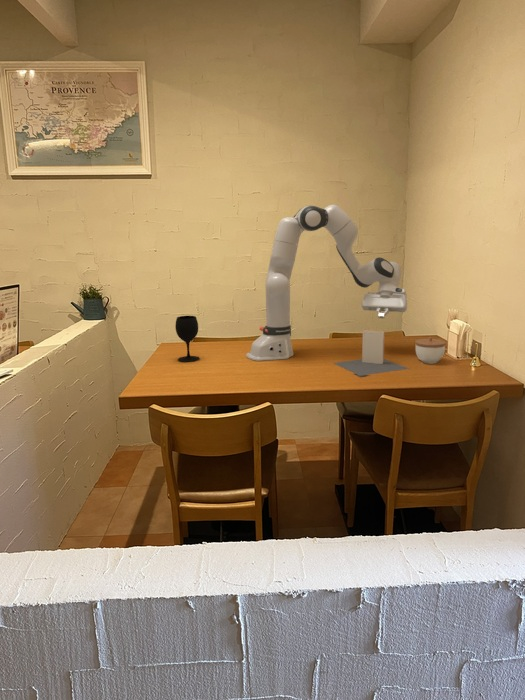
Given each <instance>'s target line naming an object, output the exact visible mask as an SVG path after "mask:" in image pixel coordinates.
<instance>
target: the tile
mask: <svg viewBox="0 0 525 700" xmlns="http://www.w3.org/2000/svg"><path fill="white" fill-rule="evenodd" d="M385 333H386V332H385V331H383V330H369V329H368V330H367V329H364V330H362V348H361V349H362V351H361V352H362V353H361V359H362V362H367V363H377V364H383V363H384V359H385V358H384V357H385Z"/></svg>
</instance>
